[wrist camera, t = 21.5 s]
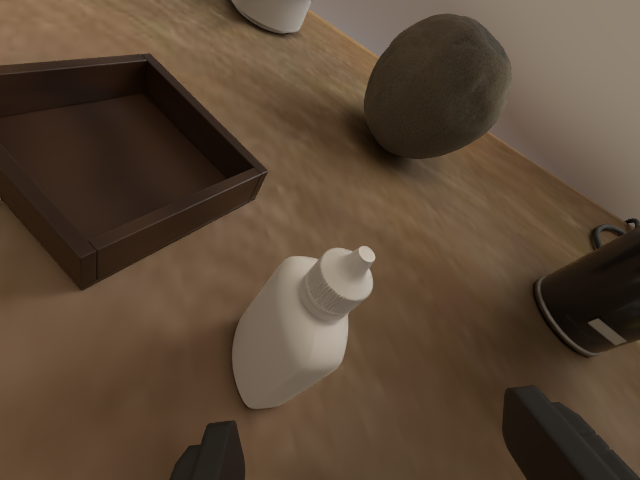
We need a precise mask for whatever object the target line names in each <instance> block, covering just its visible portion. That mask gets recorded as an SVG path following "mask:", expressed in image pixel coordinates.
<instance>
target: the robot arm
mask: <svg viewBox="0 0 640 480" xmlns="http://www.w3.org/2000/svg"><path fill="white" fill-rule="evenodd" d="M625 222H626V223H628V224H629V223H635V228H634V229H633V230H631V231H629V232H625V231H623V230H621V229H619V228H617V227H615V226H612V225H600V226H598V227H597V228H596V229H595V231H594V242H595V245H596V248H597V249H596V250H594V251H592V252H590V253H588V254H587V255H585V256H583V257H581V258H579V259H577V260H576V261H574V262H572V263H570V264H568V265H566V266H564V267H563V268H561V269H559V270H557V271H555V272H553V273H552V274H550V275H548V276H544V277H542V278H540V279H539V280H537V282H536V284H535V296H536V300H537V303H538V305H539V308H540V310H541V312H542V314H543V315H544V317H545V319H546V320H547V322H548V323H549V325H550V326H551V327H552V329H553V330H554V331H555V332H556V334H557V335H558V336H559V337H560V338H561V339H562V340H563V341H564V342H565V343H566V344H567V345H568V346H570V347H571V348H572V349H574V350H575V351H577V352H578V353H580V354H582V355H585V356H589V357H592V356H596V355H599V354H602V353H603V352H604V351H607V350H610V349H613V348H616V347H619V346H622V345H625V344H628V343H632V342H635V341H638V340H640V222H639V220H637V219H628V220H626V221H625ZM603 229H610V230H613V231H615V232H617V233H619V234H621V235H622V236H620V237H618V238H616V239H614V240H612V241H611V242H609V243H607V244H605V245H603V246H602V243H601V240H600V232H601V230H603ZM502 432H503V437H504V441H505V443H506V446H507V448H508V450H509V452H510V454H511V455H512V457H513V459H514V460H515V462H516V463H517V465H518V466H519V468H520V470H521V471H522V473H523V474H524V476H525V477H526V479H527V480H640V478H639V477H638V476H637V475H636V474H635V473H634V472H633V471H632V470H631V469H630V468H629V467H628V466H627V464H626V463H625V462H624V461H623V460H622V459H621V458H620V457H619V456H618V455H617V454H616V453H615V452H614V451H613V450H610V449H609V446H608V445H607V444H606V443H605V442H604V440H603V439H602V438H601V437H600V436H599V435H596V433H595V431H594V430H593V429H592V428H591V427H590V426H589V425H588V424H587V423H586V422H585V421H584V420H583V419H582V417H581V416H580V415H578V414H577V413H575V412H574V411H572V410H570V409H569V408H567V407H566V406H564V405H563V404H561V403H559V402H555V403H551V402H550V401H549V399H548V398H547V397H546V396H545V395H544V394H543V393H542V392H541V391H540V390H539V389H538V388H537V387H536V386H534V385H529V386H521V387H513V388H507V389H506V390H505V394H504V409H503V423H502ZM170 480H245V461H244V456H243V451H242V447H241V443H240V438H239V434H238V429H237V425H236V422H235V421H234V420H232V421H224V422H216V423H209V424H208V425H207V426H206V429H205V432H204V435H203V438H202V441H201V445H193V446H189V447H188V448H187V449H186V451H185V452H184V453H183V454H182V456H181V457H180V458H179V460H178V461H177V462H176V464H175V466H174V469H173V472H172V474H171V477H170Z"/></svg>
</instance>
